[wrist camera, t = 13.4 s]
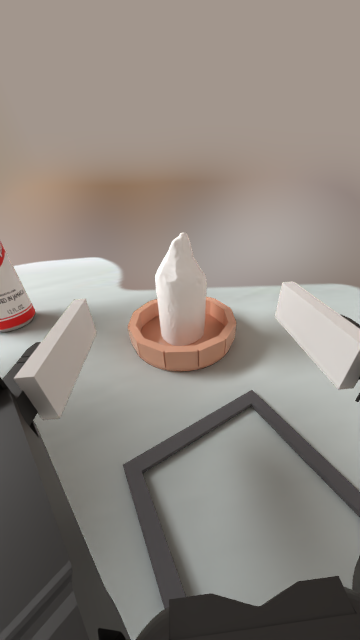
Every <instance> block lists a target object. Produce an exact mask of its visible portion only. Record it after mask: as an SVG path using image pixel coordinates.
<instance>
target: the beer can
mask: <svg viewBox="0 0 360 640" xmlns="http://www.w3.org/2000/svg"><path fill="white" fill-rule="evenodd" d="M34 315H35V309H34V307H33V305H32V303H31V301H30V299H29V297H28V295H27V293H26V291H25V289H24V287H23V285H22V283H21V281H20V279H19V277H18V275H17V273H16V271H15V269H14V267H13V265H12V263H11V261H10V259H9V257H8V255H7V253H6V251H5V249H4V247H3V245H2V243H1V241H0V332H7V331H12V330H15V329H18V328H21V327H23V326H25V325H27V324H28V323H30V322H31V320H32V319H33V317H34Z"/></svg>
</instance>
